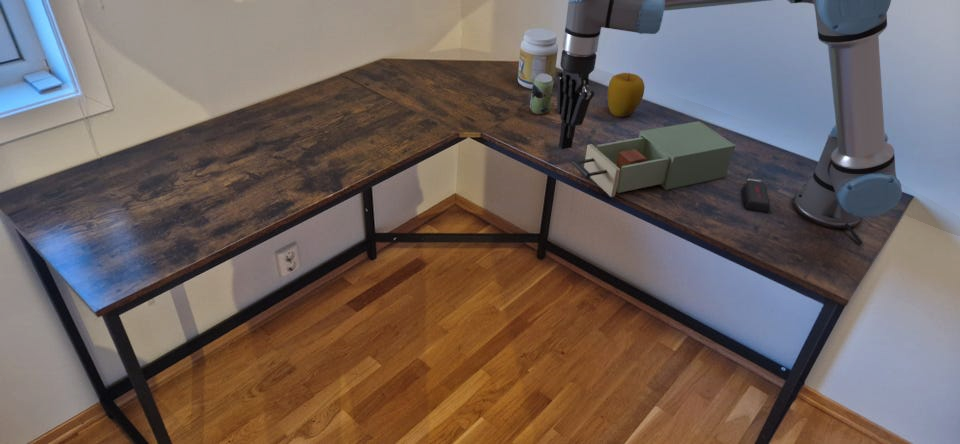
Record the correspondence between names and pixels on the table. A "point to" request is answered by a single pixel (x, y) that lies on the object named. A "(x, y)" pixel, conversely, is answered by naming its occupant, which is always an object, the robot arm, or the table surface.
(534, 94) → the beverage can
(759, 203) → the usb drive
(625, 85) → the apple
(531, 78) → the supplement tub
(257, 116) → the table surface
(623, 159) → the block
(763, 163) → the table surface
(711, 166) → the cabinet
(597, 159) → the drawer
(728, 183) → the table surface
